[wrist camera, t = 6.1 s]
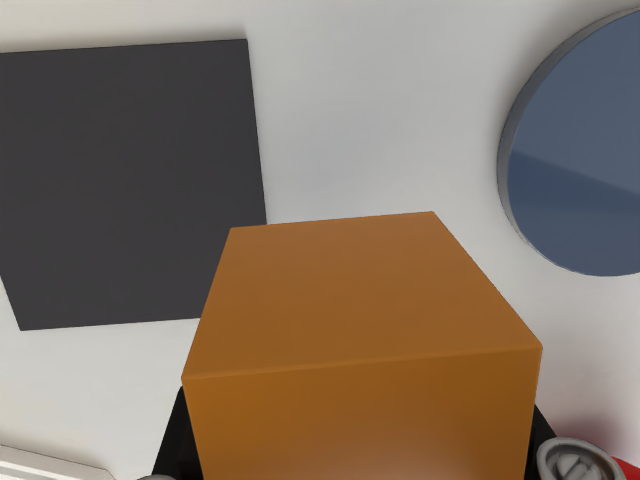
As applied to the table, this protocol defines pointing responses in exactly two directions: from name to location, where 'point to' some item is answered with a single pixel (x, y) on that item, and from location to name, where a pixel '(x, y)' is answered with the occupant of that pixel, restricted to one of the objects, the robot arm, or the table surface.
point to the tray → (44, 467)
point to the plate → (579, 152)
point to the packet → (358, 357)
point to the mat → (123, 179)
